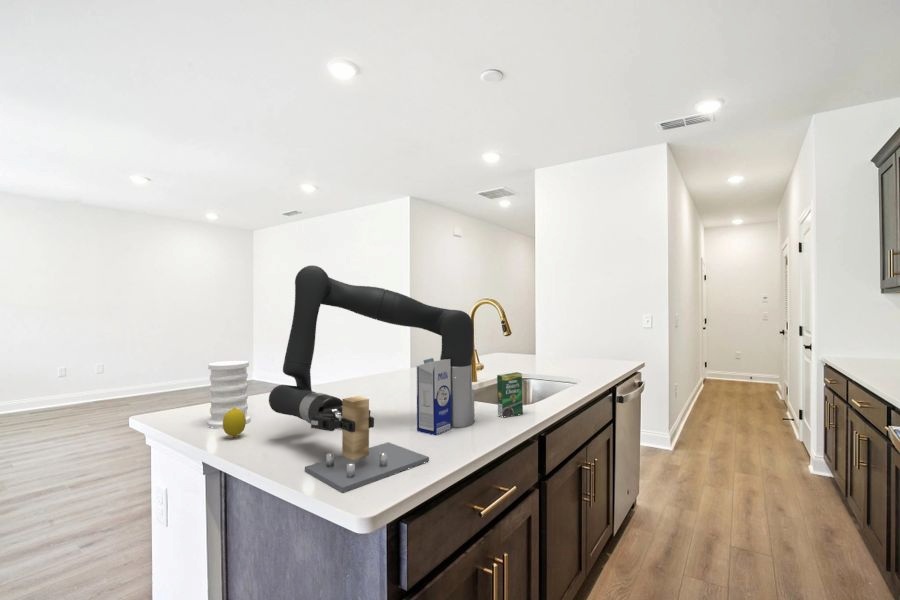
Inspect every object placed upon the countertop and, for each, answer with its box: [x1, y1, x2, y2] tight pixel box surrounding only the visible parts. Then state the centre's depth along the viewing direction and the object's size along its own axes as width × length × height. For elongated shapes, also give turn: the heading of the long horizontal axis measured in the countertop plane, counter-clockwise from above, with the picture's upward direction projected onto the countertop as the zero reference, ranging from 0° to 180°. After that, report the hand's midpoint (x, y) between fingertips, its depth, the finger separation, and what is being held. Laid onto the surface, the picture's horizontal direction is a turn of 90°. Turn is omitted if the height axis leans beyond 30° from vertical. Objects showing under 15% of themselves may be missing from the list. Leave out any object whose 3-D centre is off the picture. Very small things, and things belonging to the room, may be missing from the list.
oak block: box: [341, 395, 370, 460], centre depth 92 cm, size 4×4×12 cm
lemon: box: [223, 408, 247, 439], centre depth 116 cm, size 6×6×8 cm
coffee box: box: [496, 371, 524, 418], centre depth 136 cm, size 8×3×13 cm, turn 118°
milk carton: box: [416, 357, 452, 436], centre depth 121 cm, size 7×7×20 cm
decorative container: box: [206, 360, 252, 429], centre depth 130 cm, size 12×12×18 cm
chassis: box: [304, 442, 430, 494], centre depth 95 cm, size 22×15×4 cm
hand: (363, 424), depth 91 cm, fingers closed on oak block, 4 cm apart
